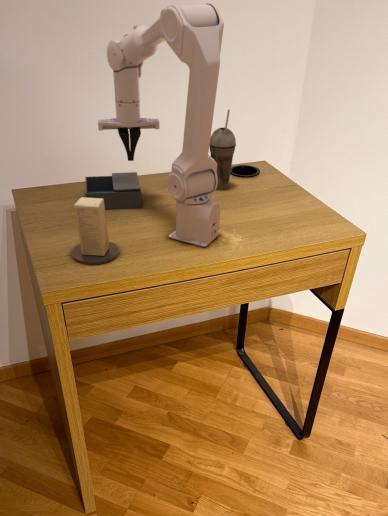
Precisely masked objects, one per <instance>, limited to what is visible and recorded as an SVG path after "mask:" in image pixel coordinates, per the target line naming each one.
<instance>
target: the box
mask: <svg viewBox="0 0 388 516" xmlns="http://www.w3.org/2000/svg"><path fill="white" fill-rule="evenodd" d="M73 206H74V211H75V219H76V220H75V221H76V225H77V226H76V227H77V232H78V238H79V244H80V245H81V252H82V254H84V255H97V256H104V255H105V254H106V252H107V250H108V248H109V242H110V241H109V234H108V224H107V216H106V210H105V206H104V199H103V198H86V196H83V197H82V196H80V197H79V199H78V200H76V202H75V203H74V205H73Z"/></svg>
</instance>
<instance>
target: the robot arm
mask: <svg viewBox="0 0 388 516" xmlns="http://www.w3.org/2000/svg"><path fill="white" fill-rule="evenodd" d="M224 27H225V22H224V20H223V18H222V15H221V13H220V11H219V9H218V8H217V6H216V5H215V4H213V3H211V2H210V3H205V4H185V5H184V4H180V5H179V4H178V5H177V4H169V5H167V6H166V7H165V8H162V9H161V10H160V15H159V16H158V17H157V18H156V19H155V20H153V22H152V23H151V24H149V25H148V26H147V25H143V24H140V23H139V24H135V25H134V26H133V27H132V28H133V30H132V31H130V32H129V33H125V34H124V35H123V37H122V38H121V39H120V40H116V39H111V40H110V41H109V42H108V43H107V46H106V58H107V63H108V65H109V67H110V68H111V70H112V73H113V75H112V76H113V86H114V87H113V89H114V102H115V117H114V118H105V119H97V127H98V129H97V130H98V131H99V132H100V131H104V130H117V133H118V136H119V138H120V140H121V142H122V144H123V147H124V150H125V153H126V156H127V161H128V162H133V161H135V153H136V148H137V145H138V142H139V140H140V137H141V136H142V135H141V134H142V132H141V130H149V129H150V130H151V129H154V130H160V120H159V118H147V117H141V96H140V92H141V91H140V78H141V77H142V69H143V68H142V67H143V66H144V61H146V60H148V59H149V58H151V57H152V56H154V55H155V54H156V52H157V50H158V46H159V45H160V44H162V43H164V42H165V41H166V44H167V45H168V47H169V48H170V49H171V50H172V52H173V53H174V54H175V55H176V57H177V58H178V60H179V61H180V62H182V63H183V64H185V65H186V66H187V67H188V69H189V70H188V71H189V72H188V73H189V75H188V84H187V85H188V86H187V97H186V106H185V107H186V108H185V118H184V128H183V129H184V130H183V137H182V138H183V140H182V150H181V153H180V154H179V155H178V156H177V157H176V158H175V160H173V162H172V163H171V170H170V173H169V175H168V179H167V189H168V191H169V194H170V196H171V198H173V200H175V202H176V203H175V230H174V231H172V232H171V233H170V234H169V235H168V239H173V240H177V241H179V242H183V243H187V244H191V245H195V246H199V247H203V248H206V247H208V245H209V244H210V243H211V242H212V241H214V240H215V239H216V238H217V237H218V236H219V235H220V231H219V229H220V215H221V209H220V205H219V203H217V202H214V201H213V200H211V198H212V196H213V195H212V194H213V193H214V192H216V190H217V189H216V188H217V184H218V177H217V163H216V162H215V160H214V159H213V158H212V157H211V155H210V154H209V153H210V138H211V135H212V129H213V122H214V121H213V120H214V113H215V105H216V98H217V91H218V83H219V75H220V68H221V51H222V43H223V35H224Z"/></svg>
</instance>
